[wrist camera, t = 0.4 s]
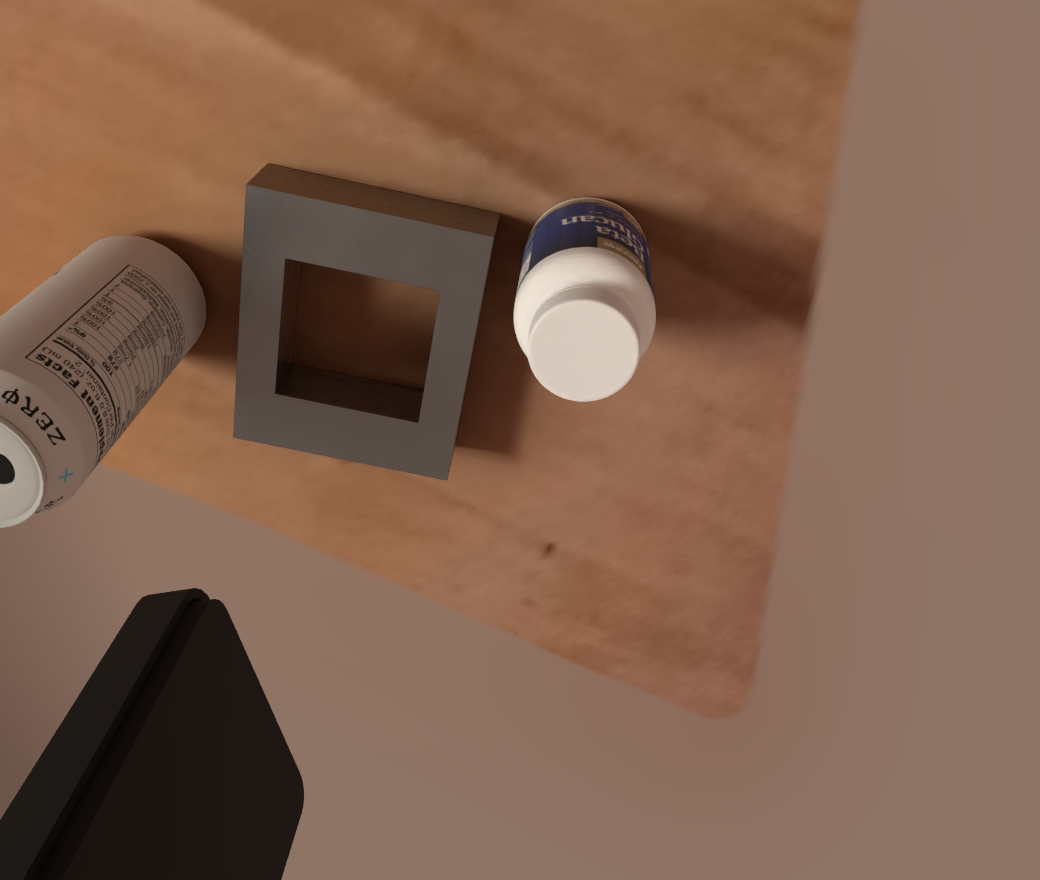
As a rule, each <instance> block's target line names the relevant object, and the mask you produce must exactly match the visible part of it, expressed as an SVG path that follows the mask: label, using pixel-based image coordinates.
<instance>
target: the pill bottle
mask: <svg viewBox="0 0 1040 880" xmlns="http://www.w3.org/2000/svg"><path fill="white" fill-rule="evenodd" d="M513 319H514V328H515V333H516V336H517V340H518V342H519V345H520V347H521V348H522V350H523V352H524V353H525V355H526V356H527V358H528V361H529V364H530V367H531V370H532V371H533V373H534V375H535V377H536V378H537V379H538V381H539V382H540V383H541V384H542V385H543V386H544V387H545V388H546V389H548V390H549V391H550V392H552V393H554V394H555V395H557V396H560V397H562V398H565V399H568V400H573V401H582V402H587V401H595V400H600V399H603V398H606V397H608V396H610V395H612V394H614V393H616V392H617V391H619V390H620V389H621V388H622V387H624V386H625V385H626V384H627V383H628V381H629V380H630V379H631V377H632V376H633V374H634V373H635V371H636V368H637V366H638V363H639V359H640V358H641V357H642V356H643V355H644V353H645V352H646V350H647V348H648V347H649V344H650V342H651V340H652V337H653V334H654V330H655V324H656V305H655V297H654V290H653V281H652V273H651V265H650V254H649V249H648V244H647V241H646V238H645V235H644V233H643V231H642V229H641V227H640V225H639V224H638V222H637V221H636V220H635V218H634V217H633V216H632V215H631V214H630V213H629V212H627V211H626V210H625V209H624V208H622V207H620V206H619V205H617V204H615V203H613V202H610V201H607V200H604V199H600V198H593V197H582V198H574V199H570V200H567V201H564V202H561V203H559V204H557V205H555V206H554V207H552V208H551V209H549V210H548V211H547V212H545V213H544V214H543V215H542V216H541V217H540V218H539V219H538V221H537V222H536V223H535V225H534V226H533V228H532V230H531V232H530V234H529V236H528V239H527V243H526V246H525V250H524V256H523V262H522V267H521V273H520V278H519V284H518V288H517V293H516V299H515V305H514V318H513Z"/></svg>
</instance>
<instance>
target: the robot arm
mask: <svg viewBox="0 0 1040 880" xmlns="http://www.w3.org/2000/svg"><path fill="white" fill-rule="evenodd" d="M303 802H304V788H303V782H302V778H301V775H300V772H299V770H298V768H297V765H296V763H295V761H294V759H293V756H292V754H291V752H290V750H289V747H288V745H287V743H286V741H285V738H284V737H283V734H282V732H281V730H280V727H279V725H278V723H277V721H276V718H275V716H274V714H273V712H272V709H271V707H270V705H269V703H268V700H267V698H266V696H265V694H264V692H263V689H262V687H261V685H260V683H259V680H258V678H257V676H256V674H255V672H254V670H253V667H252V665H251V662H250V660H249V658H248V656H247V653H246V651H245V649H244V647H243V644H242V642H241V640H240V638H239V636H238V633H237V631H236V629H235V627H234V624H233V622H232V620H231V618H230V615H229V613H228V611H227V609H226V608H225V606H224V604H223V603H222V602H221V601H220V600H216V599H213V600H210V599H209V597H208V596H207V594H206V593H204V592H203V591H202V590H201V589H196V588H193V589H186V590H179V591H172V592H166V593H158V594H152V595H147V596H145V597H142V598H141V599H140V601H139V602H138V603H137V604H136V606H135V607H134V609H133V610H132V612H131V614H130V615H129V617H128V618H127V620H126V621H125V623H124V625H123V626H122V628H121V629H120V631H119V633H118V634H117V636H116V637H115V639H114V640H113V642H112V644H111V645H110V647H109V648H108V650H107V652H106V653H105V655H104V657H103V658H102V660H101V661H100V663H99V664H98V666H97V667H96V669H95V671H94V672H93V674H92V675H91V677H90V679H89V680H88V682H87V683H86V685H85V687H84V688H83V690H82V691H81V693H80V694H79V696H78V698H77V699H76V701H75V702H74V704H73V706H72V707H71V709H70V710H69V712H68V714H67V715H66V717H65V718H64V720H63V721H62V723H61V725H60V726H59V728H58V729H57V731H56V732H55V734H54V736H53V737H52V739H51V741H50V742H49V744H48V745H47V747H46V748H45V750H44V752H43V753H42V755H41V756H40V758H39V759H38V761H37V763H36V764H35V766H34V767H33V769H32V771H31V773H30V774H29V776H28V777H27V779H26V780H25V782H24V783H23V785H22V786H21V788H20V790H19V791H18V793H17V794H16V796H15V798H14V799H13V801H12V802H11V804H10V805H9V807H8V809H7V810H6V812H5V813H4V815H3V817H2V818H1V820H0V880H281V878H282V875H283V872H284V869H285V865H286V862H287V859H288V856H289V852H290V849H291V846H292V843H293V839H294V836H295V833H296V830H297V826H298V823H299V820H300V817H301V813H302V809H303Z"/></svg>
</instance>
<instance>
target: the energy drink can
mask: <svg viewBox="0 0 1040 880" xmlns="http://www.w3.org/2000/svg"><path fill="white" fill-rule="evenodd" d="M205 320H206V301H205V297H204V294H203V290H202V288H201V286H200V284H199V281H198V279H197V277H196V276H195V274H194V273H193V272H192V270H191V269H190V268H189V266H188V265H187V264H186V263H185V262H184V261H183V260H182V259H181V258H180V257H179V256H178V255H177V254H176V253H174V252H173V251H171V250H170V249H168V248H167V247H165V246H163V245H161V244H159V243H157V242H155V241H153V240H150V239H147V238H143V237H140V236H132V235H116V236H110V237H107V238H103V239H100V240H99V241H97V242H95V243H94V244H92V245H90V246H89V247H88V248H86V249H85V250H84V251H83V252H81V253H80V254H79V255H78V256H76V257H75V258H74V259H73V260H71V261H70V262H69V263H68V264H66V265H65V266H64V267H63V268H61V269H60V270H59V271H58V272H56V273H55V274H54V275H52V276H51V277H50V278H49V279H47V280H46V281H45V282H44V283H42V284H41V285H40V286H39V287H37V288H36V289H35V290H34V291H32V292H31V293H30V294H29V295H27V296H26V297H25V298H24V299H22V300H21V301H20V302H19V303H17V304H16V305H15V306H14V307H12V308H11V309H10V310H8V311H7V312H6V313H5V314H3V315H2V316H1V317H0V528H5V527H10V526H14V525H17V524H19V523H21V522H23V521H25V520H27V519H28V518H29V517H30V516H31V515H33V514H36V513H40V512H45V511H49V510H51V509H53V508H55V507H57V506H60V505H62V504H63V503H65V502H66V501H67V500H68V499H69V498H71V497H72V496H73V495H74V494H75V492H76V491H77V490H78V489H79V487H80V486H81V485H82V484H83V482H84V481H85V480H86V479H87V477H88V476H89V475H90V474H91V472H92V471H93V470H94V469H95V467H96V466H97V465H98V464H99V462H100V461H101V460H102V459H103V457H104V456H105V455H106V454H107V452H108V451H109V450H110V449H111V447H112V446H113V445H114V444H115V442H116V441H117V440H118V439H119V437H120V436H121V435H122V434H123V432H124V431H125V430H126V429H127V427H128V426H129V425H130V424H131V422H132V421H133V420H134V419H135V417H136V416H137V415H138V414H139V412H140V411H141V410H142V409H143V408H144V406H145V405H146V404H147V403H148V401H149V400H150V399H151V398H152V396H153V395H154V394H155V393H156V391H157V390H158V389H159V388H160V386H161V385H162V384H163V383H164V381H165V380H166V379H167V378H168V376H169V375H170V374H171V373H172V371H173V370H174V369H175V368H176V366H177V365H178V364H179V363H180V361H181V360H182V359H183V358H184V356H185V355H186V354H187V353H188V351H189V350H190V349H191V348H192V346H193V345H194V344H195V342H196V341H197V340H198V338H199V337H200V335H201V333H202V331H203V328H204V326H205Z"/></svg>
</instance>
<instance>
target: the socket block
mask: <svg viewBox="0 0 1040 880" xmlns="http://www.w3.org/2000/svg"><path fill="white" fill-rule="evenodd" d="M499 216H500V213H496V212H492V211H487V210H482V209H478V208H473V207H468V206H464V205H459V204H454V203H450V202H445V201H440V200H436V199H431V198H426V197H422V196H417V195H412V194H408V193H403V192H398V191H394V190H389V189H384V188H380V187H375V186H370V185H366V184H361V183H356V182H352V181H347V180H342V179H338V178H333V177H328V176H324V175H319V174H314V173H310V172H305V171H300V170H296V169H291V168H286V167H282V166H277V165H272V164H267V165H266V166H265V167H264V168H263V169H261V170H260V171H259V172H258V173H257V174H256V175H255V176H254V177H253V178H252V179H251V180H250V181H249V182H248V183H247V184H246V197H245V216H244V236H243V255H242V275H241V294H240V314H239V333H238V353H237V372H236V392H235V411H234V431H233V438H238V439H243V440H248V441H253V442H258V443H263V444H268V445H273V446H278V447H283V448H288V449H293V450H298V451H303V452H308V453H313V454H318V455H323V456H328V457H333V458H338V459H343V460H348V461H353V462H358V463H363V464H368V465H373V466H378V467H383V468H388V469H393V470H398V471H402V472H407V473H412V474H417V475H422V476H427V477H432V478H437V479H442V480H447V479H448V475H449V471H450V466H451V462H452V458H453V453H454V449H455V444H456V439H457V434H458V429H459V424H460V418H461V413H462V408H463V403H464V398H465V392H466V387H467V382H468V377H469V372H470V366H471V361H472V356H473V351H474V346H475V341H476V335H477V330H478V325H479V320H480V315H481V309H482V304H483V299H484V294H485V289H486V284H487V278H488V273H489V268H490V263H491V258H492V252H493V247H494V242H495V237H496V232H497V226H498V221H499ZM301 262H305V263H310V264H315V265H320V266H324V267H329V268H334V269H339V270H344V271H348V272H353V273H358V274H363V275H367V276H372V277H377V278H382V279H386V280H391V281H396V282H401V283H406V284H410V285H415V286H420V287H425V288H429V289H434V290H439V291H440V297H439V303H438V309H437V315H436V321H435V327H434V333H433V339H432V345H431V351H430V357H429V363H428V369H427V375H426V381H425V387H424V390H419V389H415V388H410V387H405V386H400V385H395V384H390V383H385V382H380V381H376V380H371V379H366V378H361V377H356V376H351V375H346V374H341V373H336V372H332V371H327V370H322V369H317V368H312V367H307V366H302V365H297V364H293V351H294V339H295V328H296V316H297V304H298V292H299V280H300V269H301Z"/></svg>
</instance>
